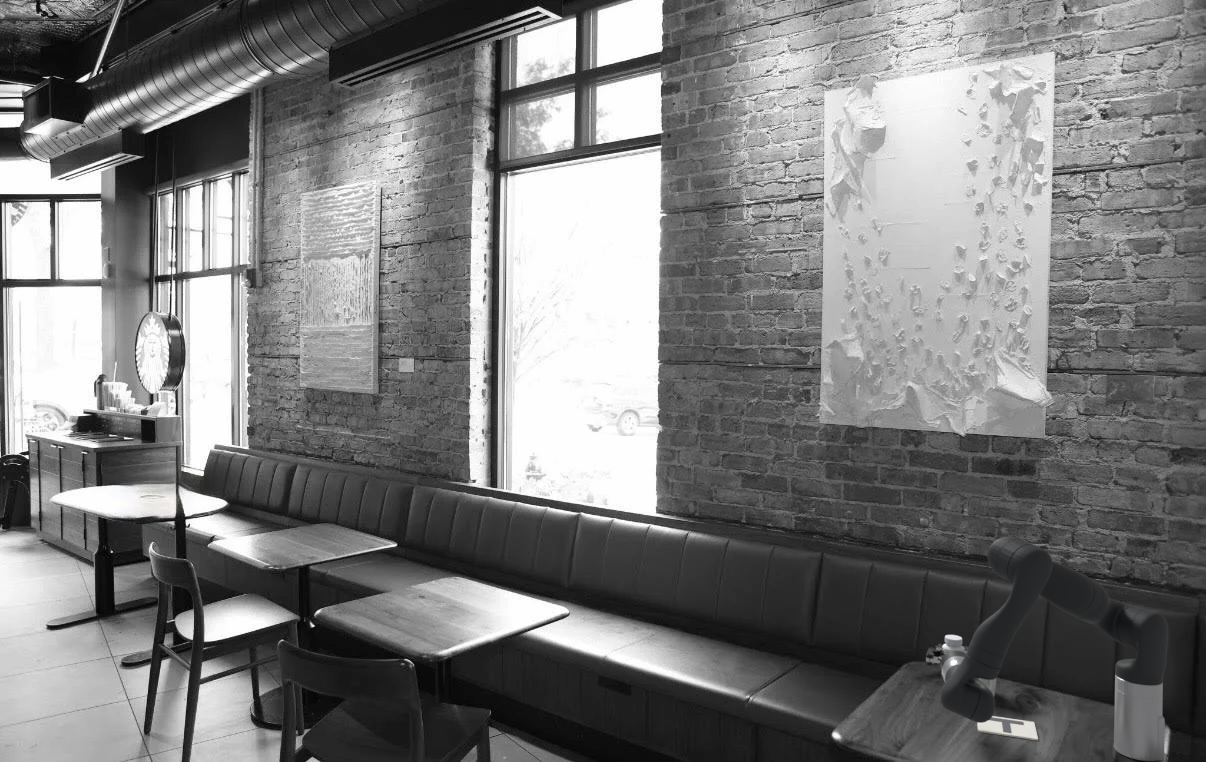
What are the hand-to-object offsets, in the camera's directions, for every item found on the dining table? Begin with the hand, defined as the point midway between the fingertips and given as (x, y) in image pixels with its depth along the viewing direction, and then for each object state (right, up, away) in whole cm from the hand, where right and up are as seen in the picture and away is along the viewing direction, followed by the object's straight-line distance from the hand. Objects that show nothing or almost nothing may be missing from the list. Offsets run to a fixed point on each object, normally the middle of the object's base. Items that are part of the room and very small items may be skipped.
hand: (952, 648), depth 211 cm
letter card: (+11, -18, -5) cm, 21 cm away
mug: (+14, -17, +15) cm, 27 cm away
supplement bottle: (-1, -6, -2) cm, 7 cm away
